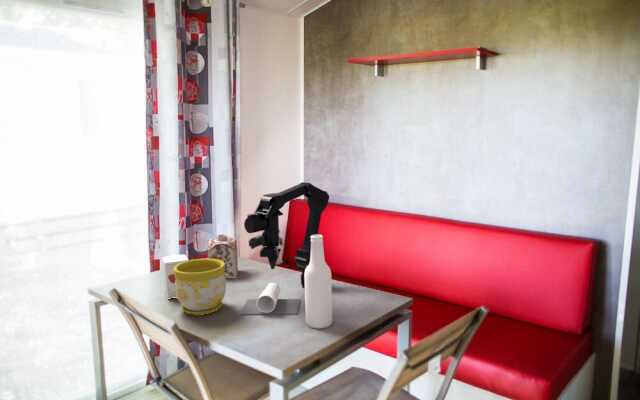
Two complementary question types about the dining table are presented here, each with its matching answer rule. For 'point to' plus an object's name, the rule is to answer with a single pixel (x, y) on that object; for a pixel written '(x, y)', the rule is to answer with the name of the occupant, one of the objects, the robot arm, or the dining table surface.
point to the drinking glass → (268, 298)
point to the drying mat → (280, 309)
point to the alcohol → (318, 287)
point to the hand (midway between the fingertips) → (272, 269)
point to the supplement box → (171, 273)
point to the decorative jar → (224, 253)
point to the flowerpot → (200, 285)
